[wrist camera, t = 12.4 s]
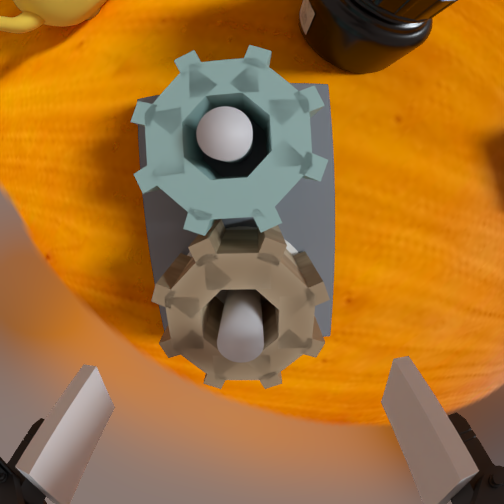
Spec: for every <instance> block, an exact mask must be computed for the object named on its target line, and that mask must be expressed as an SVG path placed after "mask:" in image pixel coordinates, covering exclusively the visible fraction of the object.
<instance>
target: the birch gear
mask: <svg viewBox="0 0 504 504" xmlns="http://www.w3.org/2000/svg"><path fill="white" fill-rule="evenodd" d="M286 247H287V244H286V242H285V240H284V238H283V235H282V233H281V231H280V229H279V226H278V225H276V226H274V227H272V228H270V229H268V230H266V231H264V232H260V230H259V228H257V229H249V230H226V228H225V226H224V224H223V222H222V220H221V219H219V220H216V221H215V222H214V224H213V225H212V227H211V228H210V230H209V231H208V232H207V234H206V235H205V236H203V235H200V234H198V236H197V237H196V238H195V239H194V240H193V242H192V243H191V244H190V245H189V247H188V248H189V250H190V252H191V254H192V256H193V257H190V256H187V255H184V254H182V253H180V254H179V256H178V257H177V258H176V259H175V260H174V262H173V263H172V264H171V265H170V267H169V268H168V269H167V270H166V272H165V273H164V274H163V275H162V277H161V278H160V279H159V280H158V282H157V283H156V285H155V289H154V293H153V296H152V300H151V301H152V302H154V303H156V304H159V305H161V306H164V307H166V313H167V320H168V326H167V328H166V330H165V332H164V334H163V336H162V338H161V340H160V342H159V344H160V346H161V347H162V349H163V350H164V352H165V353H166V355H167V356H168V358H170V357H173V356H177V355H180V354H181V355H182V356H183V357H185V358H186V359H187V360H189V361H190V362H191V363H193V364H194V365H196V366H197V367H198V368H200V369H201V370H202V371H204V372H205V373H206V375H205V379H204V384H207V385H210V386H213V387H217V388H220V389H221V388H222V386H223V384H224V382H225V380H260V381H261V383H262V385H263V387H264V388H265V389H266V388H269V387H272V386H275V385H278V384H282V379H281V371H282V370H283V369H285V368H286V367H287V366H289V365H290V364H291V363H292V362H294V361H295V360H296V359H297V358H299V357H300V356H301V355H303V354H305V355H309V356H312V357H317V355H318V354H319V352H320V350H321V349H322V347H323V345H324V344H325V341H324V338H323V336H322V333H321V330H320V328H319V325H318V323H317V320H316V318H315V315H314V312H315V306H316V305H319V304H321V303H323V302H326V301H328V300H330V299H329V296H328V293H327V290H326V287H325V285H324V282H323V280H322V278H321V277H320V275H319V273H318V272H317V270H316V268H315V267H314V265H313V263H312V262H311V260H310V259H309V257H308V255H307V254H306V252H305V251H304V252H302V253H299V254H297V255H294V256H293V255H292V254H291V253H290V252H289V251H288V250H287V249H286ZM235 289H256V290H257V291H258V292H259V293H260V294H262V295H263V296H264V297H265V298H266V299H267V301H265V302H264V303H263V304H262V320H263V337H264V347H263V351H262V352H261V354H260V355H259V356H258V357H257V358H256V359H254V360H252V361H249V362H243V363H239V362H233V361H230V360H228V359H227V358H225V357H224V356H223V355H222V354H221V353H220V352H219V350H218V347H217V338H218V333H219V328H220V323H221V318H222V313H223V308H224V303H223V302H221V301H220V300H219V299H218V298H217V297H216V296H215V295H217V294H218V293H219V292H220V291H221V290H235Z"/></svg>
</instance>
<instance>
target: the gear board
mask: <svg viewBox="0 0 504 504" xmlns="http://www.w3.org/2000/svg"><path fill="white" fill-rule="evenodd" d="M271 53H272V51H270V50H266V49H263V48H260V47H256V46H252V45H249V47H248V49H247V52H246V54H245V56H244V58H240V59H227V60H217V61H208V62H201V61H200V59H199V57H198V56H197V54H196V52H195V50H193V51H191V52H189V53H187V54H185V55H183V56H181V57H179V58H178V59H176V60H174V62H175V64H176V65H177V67H178V69H179V71H180V74H179V75H178V76H177V77H176V78H175V79H174V80H173V81H172V82H171V83H170V85H169V86H168V87H167V88H166V89H165V90H164V91H163V92H162V94H161V95H156V96H151V97H146V98H141V99H137V105H136V108H135V110H134V113H133V116H132V119H131V122H132V123H135V124H138V139H139V157H140V170H139V171H137V172H136V173H134V177H135V179H136V181H137V183H138V185H139V187H140V189H141V191H142V194H143V204H144V213H145V221H146V229H147V237H148V244H149V251H150V257H151V264H152V270H153V276H154V281H155V285H156V283H157V282H158V280H159V279H160V278H161V277H162V275H163V274H164V273H165V272H166V270H167V269H168V268H169V267H170V265H171V264H172V263H173V262H174V260H175V259H176V258H177V257H178V256H179V254H180V253H182V254H184V255H187V256H190V257H193V256H192V254H191V252H190V250H189V248H188V247H189V245H190V244H191V243H192V242H193V240H194V239H195V238H196V237H197V236H198V234H200V235H203V236H205V235H206V234H207V232H208V231H209V230H210V228H211V227H212V225H213V224H214V222H215V221H216V220H219V219H221V220H222V222H223V224H224V226H225V228H226V230H249V229H257V228H259V230H260V232H264V231H266V230H268V229H270V228H272V227H274V226H276V225H278V226H279V229H280V231H281V233H282V235H283V238H284V240H285V242H286V244H287V247H286V249H287V250H288V251H289V252H290V253H291V254H292V255H293V256H294V255H297V254H299V253H302V252H304V251H305V252H306V254H307V255H308V257H309V259H310V260H311V262H312V263H313V265H314V267H315V268H316V270H317V272H318V273H319V275H320V277H321V278H322V280H323V282H324V285H325V287H326V290H327V293H328V296H329V299H330V300H328V301H326V302H323V303H321V304H319V305H316V306H315V312H314V315H315V318H316V320H317V323H318V325H319V328H320V330H321V333H322V336H323V337H324V336H330V331H331V318H332V302H333V283H334V253H335V188H334V158H333V139H332V124H331V111H330V100H329V89H328V84H307V83H288V82H287V81H286V80H285V79H284V78H282V77H281V76H280V75H279V74H277V73H276V72H275V71H273V70H272V69H271V68H270V67H269V65H270V59H271ZM215 296H216V297H217V298H218V299H219V300H220V301H221V302H223V303H224V308H223V313H222V318H221V323H220V328H219V333H218V338H217V347H218V350H219V352H220V353H221V354H222V355H223V356H224V357H225V358H227V359H228V360H230V361H233V362H239V363H243V362H249V361H252V360H254V359H256V358H257V357H258V356H259V355H260V354H261V352H262V351H263V347H264V337H263V320H262V304H263V303H264V302H265V301H267V299H266V298H265V297H264V296H263V295H262V294H260V293H259V292H258V291H257V290H256V289H235V290H221V291H220V292H219V293H218V294H217V295H215ZM159 308H160V313H161V318H162V322H163V327H164V332H165V330H166V328H167V326H168V320H167V313H166V307H164V306H161V305H159Z"/></svg>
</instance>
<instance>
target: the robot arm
mask: <svg viewBox="0 0 504 504" xmlns="http://www.w3.org/2000/svg"><path fill="white" fill-rule="evenodd" d="M381 403H382V405H383V407H384V410H385V412H386V414H387V416H388V419H389V421H390V423H391V425H392V428H393V430H394V432H395V435H396V437H397V439H398V442H399V444H400V446H401V449H402V451H403V454H404V456H405V459H406V461H407V464H408V466H409V469H410V471H411V473H412V476H413V479H414V481H415V484H416V486H417V489H418V492H419V494H420V497H421V500H422V502H423V504H447V503H448V502H449V501H450V500H451V502H452V504H504V467H502V466H495V465H494V464H493V463H492V461H491V460H490V458H489V456H488V455H487V453H486V451H485V450H484V448H483V446H482V445H481V443H480V441H479V440H478V439H477V438H476V435H475V433H474V432H473V430H471V427H470V425H469V424H468V422H467V421H466V419H465V418H463V417H462V416H461V415H459V414H458V413H454V414H451V415H448V416H447V414H446V413H445V411H444V409H443V408H442V406H441V405H440V403H439V401H438V400H437V398H436V397H435V395H434V394H433V392H432V390H431V389H430V387H429V386H428V384H427V383H426V381H425V380H424V378H423V377H422V375H421V374H420V372H419V371H418V369H417V368H416V366H415V365H414V363H413V362H412V360H411V359H410V358H409V356H406V357H401V358H396V359H393V363H392V367H391V370H390V374H389V378H388V381H387V385H386V388H385V391H384V395H383V398H382V401H381ZM114 408H115V407H114V404H113V402H112V400H111V398H110V396H109V394H108V392H107V390H106V388H105V385H104V383H103V381H102V378H101V376H100V374H99V372H98V369H97V367H96V366H90V365H83V366H82V368H81V369H80V370H79V372H78V373H77V374H76V376H75V377H74V379H73V380H72V381H71V383H70V384H69V385H68V387H67V388H66V390H65V391H64V392H63V394H62V395H61V397H60V398H59V400H58V401H57V402H56V404H55V406H54V407H53V408H52V410H51V411H50V413H49V414H48V416H47V417H46V419H42V418H41V419H40V420H38V421H37V422H36V423H35V424H33V425H32V427H31V428H30V430H29V431H28V434H26V436H25V438H24V440H23V441H22V442H21V444H20V445H19V447H18V448H17V450H16V451H15V453H14V454H13V456H12V458H11V459H10V461H9V462H8V463H7V464H6V463H5V462H4V461H3V460H2V458H1V457H0V504H47V503H46V501H45V500H44V499H45V497H47V498H49V499H50V500H51V501H52V502H53V503H55V504H70V502H71V500H72V497H73V495H74V493H75V491H76V488H77V486H78V484H79V481H80V479H81V477H82V475H83V473H84V470H85V468H86V466H87V464H88V462H89V460H90V457H91V455H92V453H93V451H94V449H95V447H96V445H97V443H98V440H99V438H100V436H101V434H102V432H103V430H104V428H105V426H106V424H107V422H108V420H109V418H110V416H111V414H112V412H113V410H114Z"/></svg>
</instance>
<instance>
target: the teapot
mask: <svg viewBox="0 0 504 504" xmlns="http://www.w3.org/2000/svg"><path fill="white" fill-rule="evenodd" d="M13 1H14V3H15V5H16V6H17V7H18V8H19V9H20V10H21V11H22V13H21V14H20V15H18V16H16V17H13V18H11V17H4V16H0V31H5V32H10V33H26V32H30V31H33V30H35V29H37V28H38V27H40V26H41V25H43V24H45V25H50V26H59V27H65V26H72V25H77V24H79V23H81V22H83V21H84V20H90V19H92V18H93V17H95V16H96V15H97V14H98V13H99V11H100V8H101V6H102V5H103V4H104V3H105V2H106V1H107V0H13Z"/></svg>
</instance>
